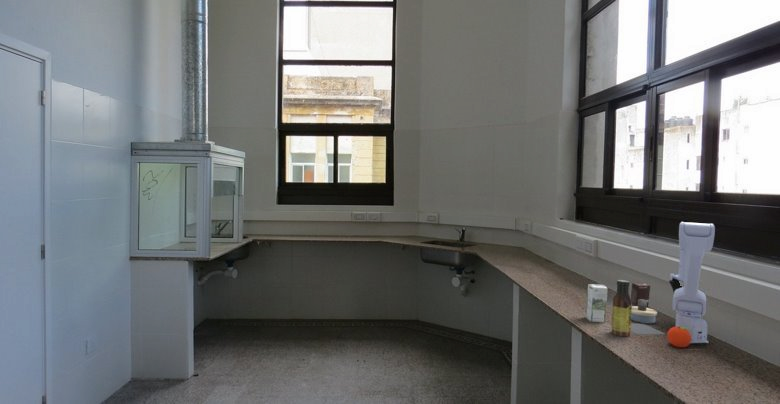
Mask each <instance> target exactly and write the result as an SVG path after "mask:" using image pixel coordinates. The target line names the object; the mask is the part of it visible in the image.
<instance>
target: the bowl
mask: <svg viewBox="0 0 780 404" xmlns="http://www.w3.org/2000/svg"><path fill="white" fill-rule="evenodd" d="M656 318H657V315H656V316H643V315H637V314H633V313H632V314H631V321H633V322H637V323H640V324H655V323H656Z"/></svg>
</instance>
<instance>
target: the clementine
mask: <svg viewBox="0 0 780 404" xmlns="http://www.w3.org/2000/svg"><path fill="white" fill-rule="evenodd" d="M686 329H687V328H684V327H680V326H679V327H675V326H673V327H670V328H669V330H668V331H667V334H666V336H667V339H668V342H669V343H670V344H671V345H672V346H674V347H676V348H686V347H688V346H690V344H691V343H690V342H691V335H690V333H689V332H688V331H687V330H689V329H687V330H686ZM691 332H692V331H691ZM693 334H694V333H693ZM694 336H695V335H694Z"/></svg>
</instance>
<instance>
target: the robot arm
mask: <svg viewBox="0 0 780 404" xmlns="http://www.w3.org/2000/svg"><path fill="white" fill-rule="evenodd" d="M715 232H716V227H715V224H714V223H701V222H700V223H699V222H684V221H681V222H680V223H679V226H678V249H679V263H678V274H676V275H674V274H675V273H670V275H669V280H668V281H669V282H668V283H669V285H670V286H671V289H672V291H673V296H672V310H673V311H674V312H675V313H676V315H675V326H674V327H679V326H680V327H684V328H687V329H689V330H687V329H686V330H687V331H688V332H689V333H690V335H691V342H690V344H708V343H709V341H708V329H709V326H708V323H707V321H706V320H705V319H703V318H702V316H704V315H705V314H706V311H707V296H706V294H705V293H704V291H703V292H702V291H700V290H699V289H698V287H699V280H700V281H701V279H700V278H701V271H702V263H703V259H704V257H705V255H706V253H708V252H711V251H712V248H713V247H714V242H715V241H714V240H715V234H716V233H715ZM679 281H682V282H684V285H683V287H682V286H680V283H679ZM691 331H692V332H691ZM693 333H694V334H693ZM694 335H695V336H694Z"/></svg>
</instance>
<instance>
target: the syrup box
mask: <svg viewBox="0 0 780 404" xmlns="http://www.w3.org/2000/svg"><path fill="white" fill-rule="evenodd" d="M608 290H609V289H608V287H607V286H605V284H595V283H593V284H592V283H588V285H587V296H586V297H587V298H586V312H585V318H586V319H587V320H588V321H589V322H592V323H606V315H607V303H608V302H607V300H608Z"/></svg>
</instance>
